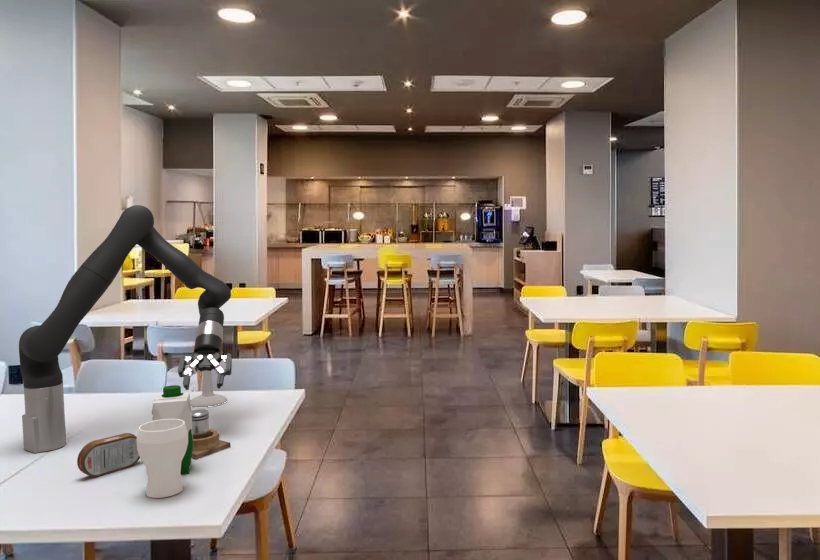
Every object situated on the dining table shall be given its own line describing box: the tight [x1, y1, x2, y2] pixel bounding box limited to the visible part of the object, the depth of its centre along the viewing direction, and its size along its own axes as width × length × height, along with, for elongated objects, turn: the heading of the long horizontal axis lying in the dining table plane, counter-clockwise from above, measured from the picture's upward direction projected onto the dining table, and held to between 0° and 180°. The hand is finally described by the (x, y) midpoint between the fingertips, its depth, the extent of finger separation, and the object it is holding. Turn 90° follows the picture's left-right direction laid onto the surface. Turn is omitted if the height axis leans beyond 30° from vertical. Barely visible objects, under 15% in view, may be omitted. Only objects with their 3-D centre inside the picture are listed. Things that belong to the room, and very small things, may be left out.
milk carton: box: [151, 384, 193, 475], centre depth 148 cm, size 9×9×20 cm
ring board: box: [191, 428, 232, 460], centre depth 163 cm, size 11×11×4 cm
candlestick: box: [190, 370, 228, 408], centre depth 210 cm, size 13×13×30 cm
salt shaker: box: [191, 408, 210, 439], centre depth 163 cm, size 5×5×9 cm
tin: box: [76, 432, 141, 478], centre depth 148 cm, size 15×3×8 cm, turn 141°
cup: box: [136, 419, 188, 499], centre depth 135 cm, size 11×11×15 cm
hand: (202, 387), depth 168 cm, fingers open, 8 cm apart
